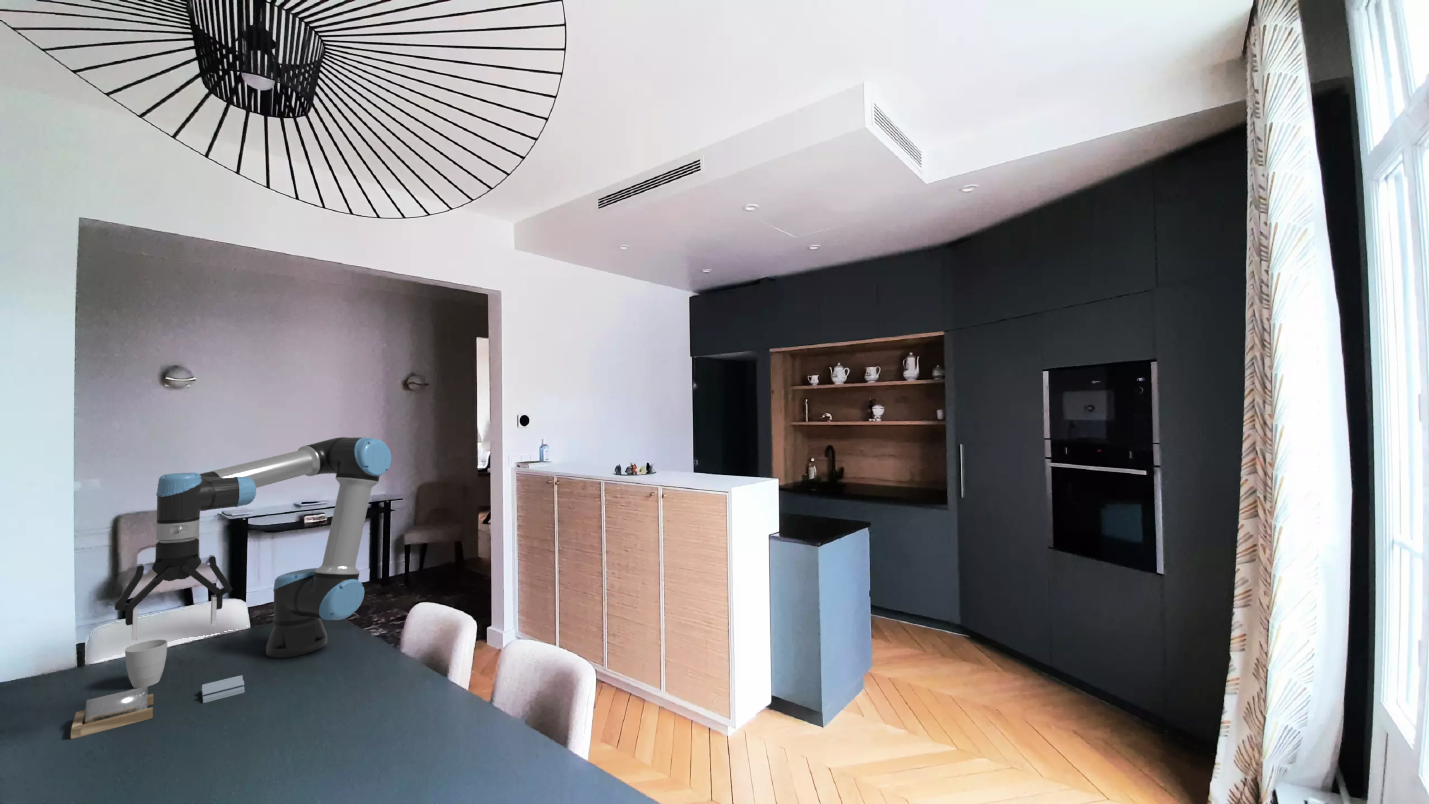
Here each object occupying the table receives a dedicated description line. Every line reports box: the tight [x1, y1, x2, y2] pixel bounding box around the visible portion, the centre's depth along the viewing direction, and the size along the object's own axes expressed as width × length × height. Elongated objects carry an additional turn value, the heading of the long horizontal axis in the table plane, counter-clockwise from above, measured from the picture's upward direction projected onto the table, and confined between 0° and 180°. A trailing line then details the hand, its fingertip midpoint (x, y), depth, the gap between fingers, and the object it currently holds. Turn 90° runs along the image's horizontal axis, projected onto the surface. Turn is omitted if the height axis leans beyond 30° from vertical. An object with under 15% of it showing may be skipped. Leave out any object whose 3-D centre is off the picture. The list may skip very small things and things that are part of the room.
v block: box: [201, 674, 246, 704], centre depth 151 cm, size 8×8×2 cm
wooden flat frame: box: [70, 693, 154, 740], centre depth 137 cm, size 10×13×2 cm
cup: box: [124, 639, 168, 689], centre depth 155 cm, size 8×8×10 cm
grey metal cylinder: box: [84, 686, 149, 724], centre depth 138 cm, size 10×6×6 cm, turn 133°
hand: (175, 630), depth 138 cm, fingers open, 13 cm apart
